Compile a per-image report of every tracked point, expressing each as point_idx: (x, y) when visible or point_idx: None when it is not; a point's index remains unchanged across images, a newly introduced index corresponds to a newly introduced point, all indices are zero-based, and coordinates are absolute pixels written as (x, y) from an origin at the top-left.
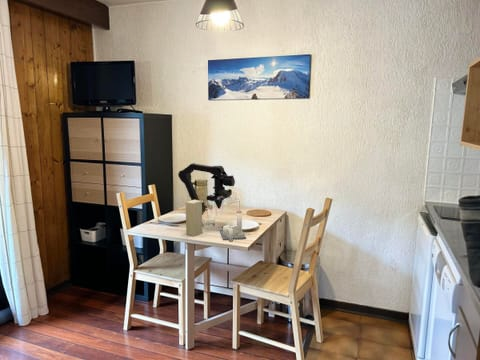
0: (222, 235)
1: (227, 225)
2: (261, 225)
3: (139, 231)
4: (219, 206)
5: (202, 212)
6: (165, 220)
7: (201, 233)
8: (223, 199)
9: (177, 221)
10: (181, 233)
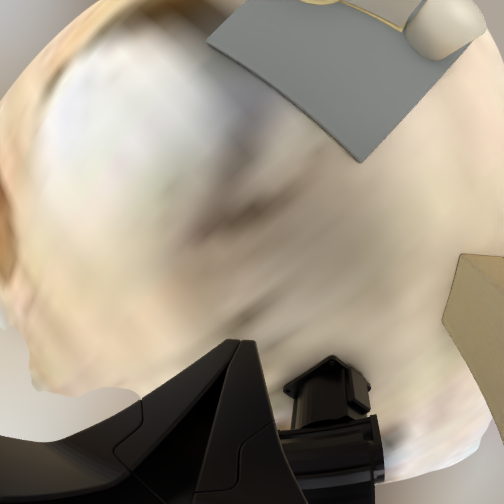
0: (444, 66)
1: (440, 3)
2: (69, 51)
3: (477, 442)
4: (249, 371)
5: (337, 441)
6: None
7: (468, 254)
8: (8, 451)
9: None
10: None
